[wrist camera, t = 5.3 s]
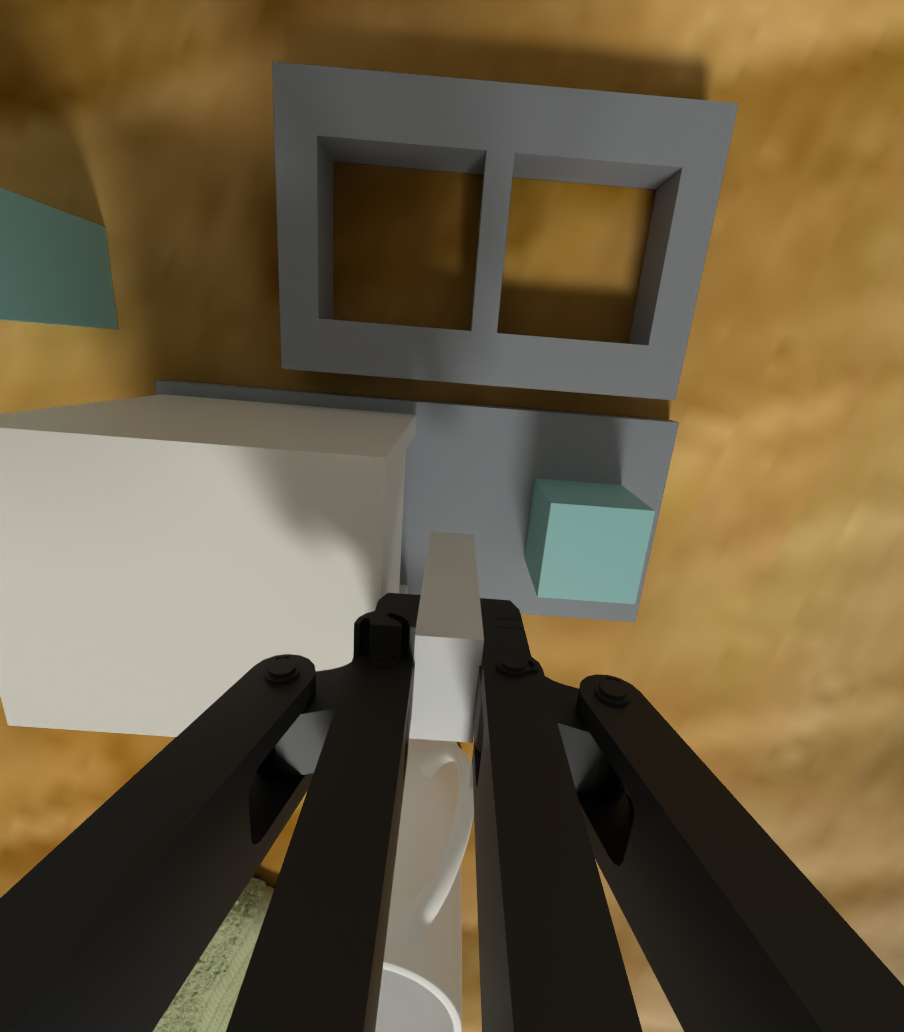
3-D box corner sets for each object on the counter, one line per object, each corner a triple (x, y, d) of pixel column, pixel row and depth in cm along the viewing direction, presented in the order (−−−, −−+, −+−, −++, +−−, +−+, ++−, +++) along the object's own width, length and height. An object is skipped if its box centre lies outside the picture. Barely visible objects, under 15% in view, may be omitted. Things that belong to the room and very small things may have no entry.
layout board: (188, 579, 25) (125, 631, 20) (168, 379, 22) (88, 386, 17) (628, 612, 25) (667, 670, 21) (669, 419, 22) (726, 436, 18)
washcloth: (131, 997, 36) (101, 1056, 33) (205, 842, 32) (178, 894, 28) (294, 1048, 38) (280, 1108, 35) (388, 909, 33) (381, 964, 30)
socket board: (299, 367, 22) (281, 369, 20) (294, 97, 19) (272, 61, 16) (652, 395, 22) (675, 400, 20) (704, 133, 19) (738, 103, 17)
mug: (417, 641, 26) (387, 860, 15) (532, 727, 28) (584, 983, 16) (292, 770, 29) (185, 1038, 18) (402, 841, 31) (370, 1127, 19)
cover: (181, 583, 24) (8, 725, 15) (161, 394, 21) (-69, 422, 12) (406, 600, 24) (375, 750, 15) (416, 414, 21) (385, 457, 12)
